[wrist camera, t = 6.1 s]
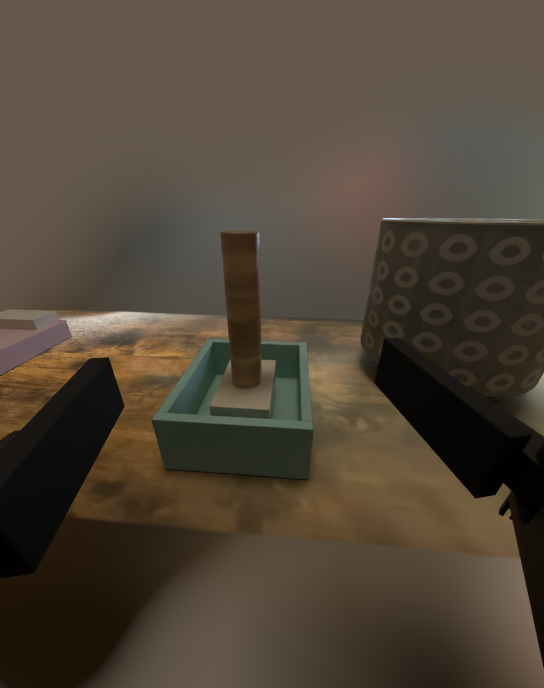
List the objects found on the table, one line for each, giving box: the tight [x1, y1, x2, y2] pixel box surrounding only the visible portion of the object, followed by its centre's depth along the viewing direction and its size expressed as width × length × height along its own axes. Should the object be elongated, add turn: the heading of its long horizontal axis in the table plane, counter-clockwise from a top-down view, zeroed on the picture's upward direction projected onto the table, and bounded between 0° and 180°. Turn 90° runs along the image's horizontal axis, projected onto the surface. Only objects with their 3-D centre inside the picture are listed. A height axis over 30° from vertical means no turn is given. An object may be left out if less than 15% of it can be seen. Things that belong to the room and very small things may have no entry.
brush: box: [209, 231, 276, 419], centre depth 22 cm, size 8×5×17 cm, turn 175°
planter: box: [361, 218, 544, 397], centre depth 30 cm, size 19×19×18 cm
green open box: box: [152, 339, 313, 479], centre depth 25 cm, size 14×12×5 cm
